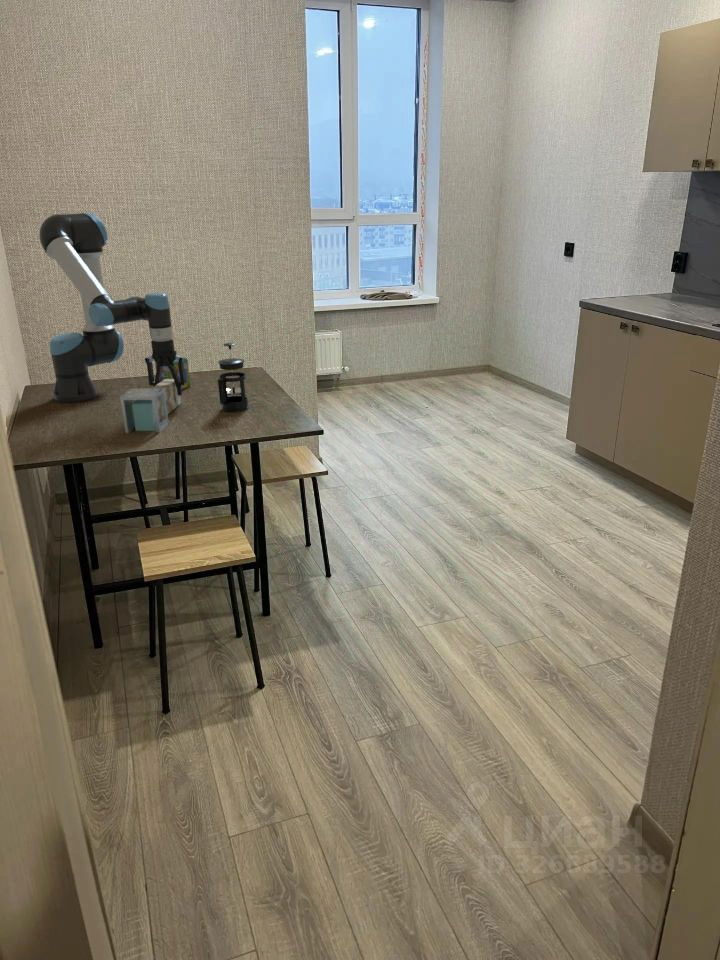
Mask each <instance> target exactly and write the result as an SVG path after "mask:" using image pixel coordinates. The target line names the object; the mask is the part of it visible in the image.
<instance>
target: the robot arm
mask: <svg viewBox="0 0 720 960" xmlns="http://www.w3.org/2000/svg"><path fill="white" fill-rule="evenodd" d="M107 241H108V232H107V229H106V226H105V224H104V223H103V221H102V219H101V218H100V217H98V216H97V215H96V214H94V213H85V212H81V213H68V214H67V213H65V214H64V213H62V214H59V213H58V214H57V213H56V214H52V215H50V216H48V217H47V218H46V219H44V220H43V222H42V223H41V226H40V228H39V242H40V244H41V247H42V249H43V251H44V252H45V254H46V255H47V256H48V257H49V258H50V259H52V260H54V261H55V262H56V263H57V264H58V266H59V267H60V269H61V270H62V271H63V272H64V275H66V277H67V278H68V279H69V280H70V282H71V284H72V285H73V286H74V288H75V289H76V290H77V292H78V293H79V294H80V300H81V304H82V310H83V315H84V317H83V318H84V322H85V325H84V326H83V327H82V333H81V332H77V331H76V332H68V333H62V334H59V335H57V336H55V337H53V338H52V339H51V340H50V342H49V348H50V349H49V350H50V351H49V353H50V355H51V356H50V357H51V359H52V360H51V361H52V364H53V365H52V366H53V370H54V377H55V382H54V383H55V384H54V390H53V398H54V401H55V402H59V403H78V402H84V401H88V400H93V399H94V398H96V397H97V396H98V393H97V388H96V386H95V384H94V382H93V381H92V379H91V377H90V372H89V367H94V366H99V365H103V364H110V363H112V362H115V361H116V362H117V361H118V360H120V358H121V357H122V355H123V353H124V346H125V345H124V339H123V337H122V335H121V333H120V332H119V331H118V330H115V329H116V328H115V326H114V325H117V324H118V325H119V324H123V323H131V322H136V321H137V322H138V321H148V328H149V329H148V330H149V335H150V337H149V338H150V339H151V341H150V344H151V351H152V354H151V355H150V356H147V357H145V358H144V361H145V364H146V367H147V376H148V385H149V386H152V387H154V386H155V385H157V384H158V383H160V379H161V372H162V367H163V366H168V368H169V369H170V372H171V374H172V377H173V379H174V382H175V384H176V386H175V387H174V389H175V397H176V405H179V404H180V403H181V404H182V401H181V402H180V397H181V396H182V394H183V391H182V390H183V389H182V388H181V386H182V385H184V384H185V383H186V378H185V371H184V364H183V362H184V358H185V356H183V355H181V356H180V355H178V354H176V353H175V351H176V350H175V343H174V339H173V338H174V334H173V326H172V319H171V318H172V317H171V309H170V307H171V305H170V302H169V298H168V297H169V296H168V295H167V294H166V293H164V292H151V293H147V294H145V296H144V297H142V296H141V297H140V296H131V297H128V298H126V299H121V300H120V299H119V300H114V299H112V297H111V296H110V295H109V293H108V292H107V291H106V289H105V284H104V277H103V273H102V272H103V271H102V267H101V259H100V257H101V255H102V254H103V253H104V251H103V250H104V249H103V247H106V245H107V243H108V242H107ZM175 359H177V362H178V367H179V374H180V379H179V376H178V374H177V371H176V369H175V365H174V360H175ZM153 361H154V363H155V362H156V363H157V367H156V366H155V374H154V364H153ZM156 368H157V370H156ZM181 404H180V405H181ZM180 405H179V406H180Z"/></svg>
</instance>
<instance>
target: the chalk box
mask: <svg viewBox="0 0 720 960" xmlns="http://www.w3.org/2000/svg"><path fill="white" fill-rule="evenodd" d="M175 353H176V355H178V354H177V350H175ZM183 364H184V371H185V378H186V383H185V384H184V385H182V386H181V388H182V390H184V389H186V388H190V387H191V381H190V370H189V360H188V358H186V357H184V362H183ZM154 365H155V371H156V370H157V368H156V367H157V363H156V362H155V361H154ZM174 365H175V369H176V371H177V374H178V376H179V379H180V374H179V367H178V362H177V359H175V360H174ZM164 379H173V377H172V374H171V372H170V369H169V368H168V366H163V367H162V372H161V379H160V382H161V381H163V380H164Z"/></svg>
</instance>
